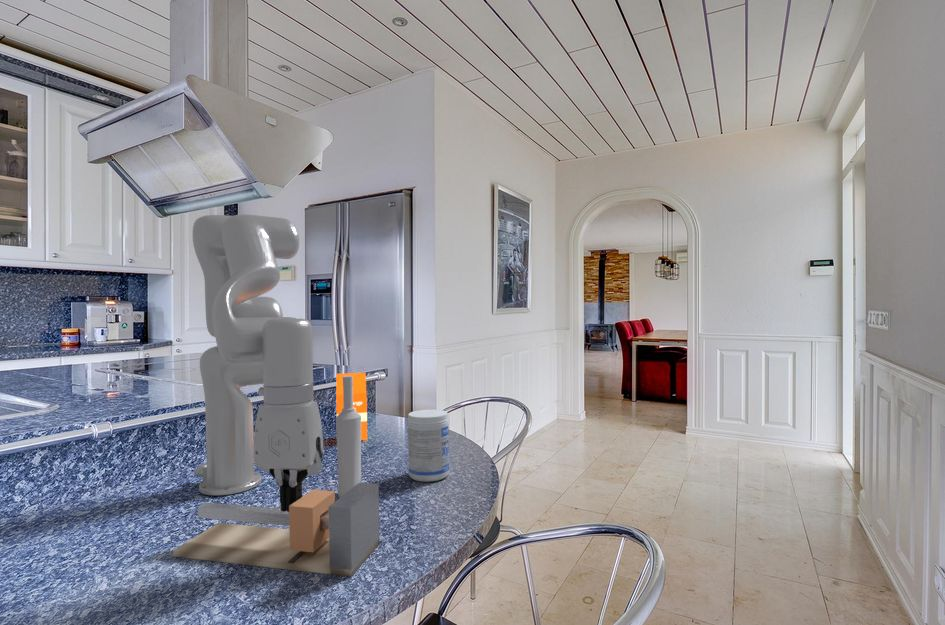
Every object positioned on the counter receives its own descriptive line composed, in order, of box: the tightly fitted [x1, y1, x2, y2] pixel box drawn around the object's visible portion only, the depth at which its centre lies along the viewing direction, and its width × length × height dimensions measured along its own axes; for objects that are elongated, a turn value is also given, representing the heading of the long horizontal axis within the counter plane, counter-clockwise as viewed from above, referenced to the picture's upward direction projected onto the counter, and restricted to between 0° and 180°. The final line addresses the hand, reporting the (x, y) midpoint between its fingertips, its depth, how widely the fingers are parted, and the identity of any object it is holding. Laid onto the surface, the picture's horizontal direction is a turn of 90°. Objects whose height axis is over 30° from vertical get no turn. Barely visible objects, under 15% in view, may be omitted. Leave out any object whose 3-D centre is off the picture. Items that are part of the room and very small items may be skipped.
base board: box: [172, 522, 381, 578], centre depth 79 cm, size 31×10×1 cm, turn 77°
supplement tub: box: [407, 409, 450, 483], centre depth 113 cm, size 10×10×15 cm
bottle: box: [335, 376, 362, 498], centre depth 102 cm, size 5×5×25 cm
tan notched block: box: [288, 489, 336, 552], centre depth 77 cm, size 4×7×7 cm, turn 167°
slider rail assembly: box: [197, 482, 381, 578], centre depth 79 cm, size 30×10×10 cm, turn 77°
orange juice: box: [335, 372, 368, 441], centre depth 146 cm, size 8×9×20 cm
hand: (291, 508), depth 78 cm, fingers closed
